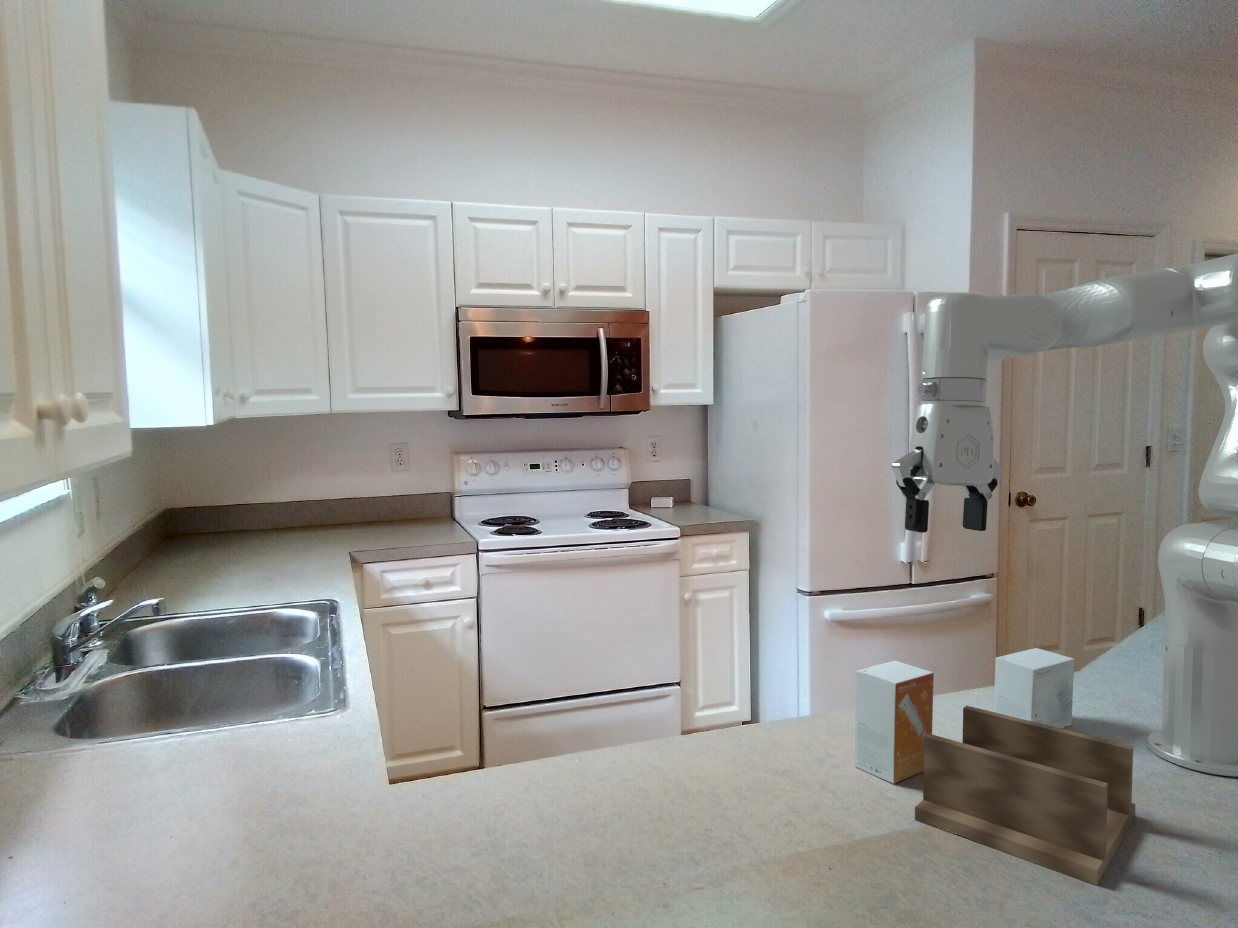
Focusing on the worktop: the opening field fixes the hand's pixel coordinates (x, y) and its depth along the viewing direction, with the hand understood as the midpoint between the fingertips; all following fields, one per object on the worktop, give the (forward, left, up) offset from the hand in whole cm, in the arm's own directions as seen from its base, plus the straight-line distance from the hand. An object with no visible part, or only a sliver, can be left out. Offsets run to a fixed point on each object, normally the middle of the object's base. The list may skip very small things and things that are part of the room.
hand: (945, 530), depth 96 cm
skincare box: (-26, +4, -32) cm, 41 cm away
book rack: (+4, +11, -32) cm, 34 cm away
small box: (+2, -5, -32) cm, 32 cm away
